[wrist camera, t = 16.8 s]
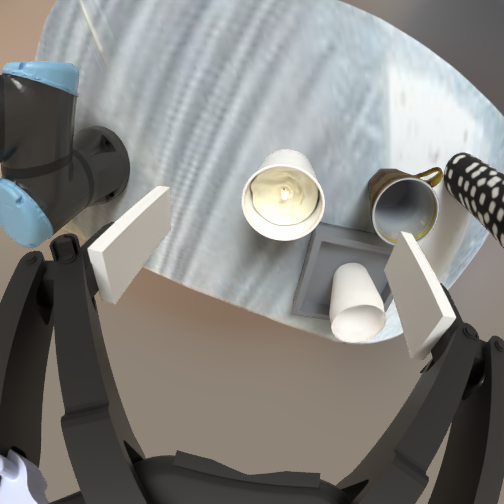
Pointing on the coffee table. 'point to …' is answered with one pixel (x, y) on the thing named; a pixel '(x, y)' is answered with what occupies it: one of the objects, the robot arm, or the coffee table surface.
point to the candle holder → (283, 197)
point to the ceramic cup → (403, 203)
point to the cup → (355, 305)
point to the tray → (331, 258)
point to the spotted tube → (478, 191)
